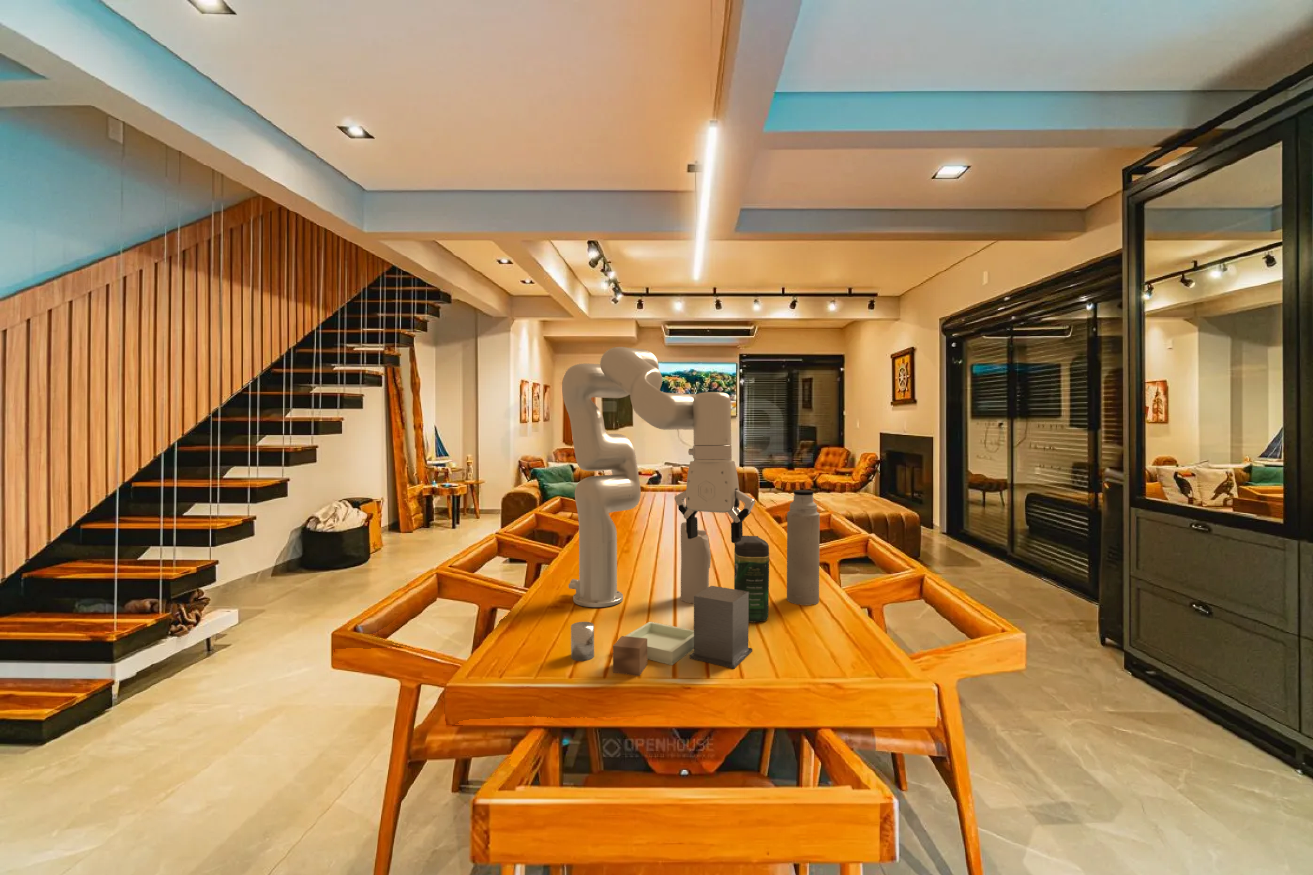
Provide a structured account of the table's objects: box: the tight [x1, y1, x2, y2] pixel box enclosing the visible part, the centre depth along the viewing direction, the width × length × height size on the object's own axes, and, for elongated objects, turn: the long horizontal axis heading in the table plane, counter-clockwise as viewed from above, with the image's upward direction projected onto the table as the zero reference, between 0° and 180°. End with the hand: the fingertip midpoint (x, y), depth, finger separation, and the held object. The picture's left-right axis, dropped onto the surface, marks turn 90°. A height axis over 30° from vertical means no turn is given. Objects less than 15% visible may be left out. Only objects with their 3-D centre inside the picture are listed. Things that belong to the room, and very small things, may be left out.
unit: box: [689, 585, 753, 670], centre depth 112 cm, size 9×9×12 cm
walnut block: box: [612, 635, 648, 677], centre depth 106 cm, size 5×5×5 cm
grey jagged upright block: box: [680, 521, 712, 604], centre depth 146 cm, size 7×14×20 cm, turn 73°
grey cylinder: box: [570, 621, 595, 662], centre depth 112 cm, size 4×4×6 cm
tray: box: [625, 621, 694, 666], centre depth 116 cm, size 12×12×2 cm
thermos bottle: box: [786, 489, 821, 606], centre depth 146 cm, size 8×8×28 cm
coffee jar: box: [733, 535, 770, 623], centre depth 134 cm, size 10×8×19 cm
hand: (713, 539), depth 115 cm, fingers open, 9 cm apart
